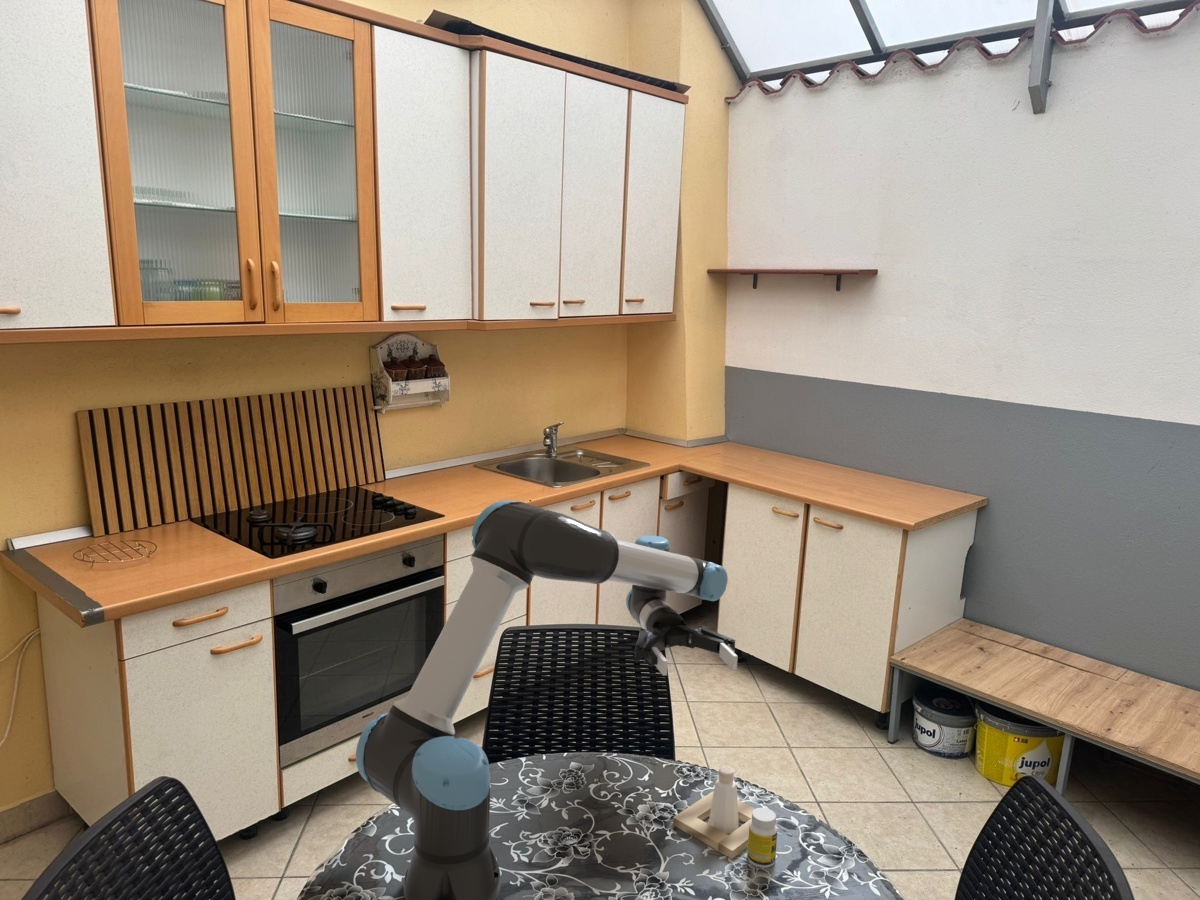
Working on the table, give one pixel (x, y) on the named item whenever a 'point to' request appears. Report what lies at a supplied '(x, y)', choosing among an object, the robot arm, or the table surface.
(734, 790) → the pepper shaker
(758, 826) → the supplement bottle
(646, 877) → the table surface
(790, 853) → the table surface
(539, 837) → the table surface
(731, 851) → the hole block
